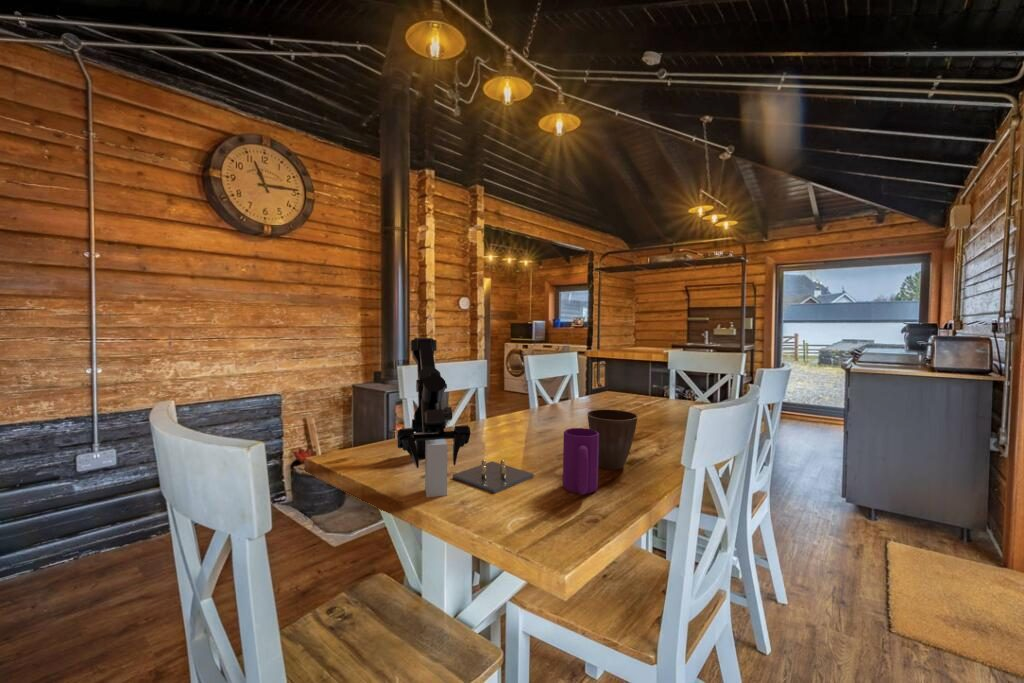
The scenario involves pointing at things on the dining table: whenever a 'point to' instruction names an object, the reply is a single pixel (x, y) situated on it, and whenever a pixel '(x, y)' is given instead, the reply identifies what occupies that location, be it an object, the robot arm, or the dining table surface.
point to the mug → (580, 460)
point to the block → (436, 467)
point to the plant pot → (613, 436)
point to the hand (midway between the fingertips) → (436, 465)
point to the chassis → (493, 476)
